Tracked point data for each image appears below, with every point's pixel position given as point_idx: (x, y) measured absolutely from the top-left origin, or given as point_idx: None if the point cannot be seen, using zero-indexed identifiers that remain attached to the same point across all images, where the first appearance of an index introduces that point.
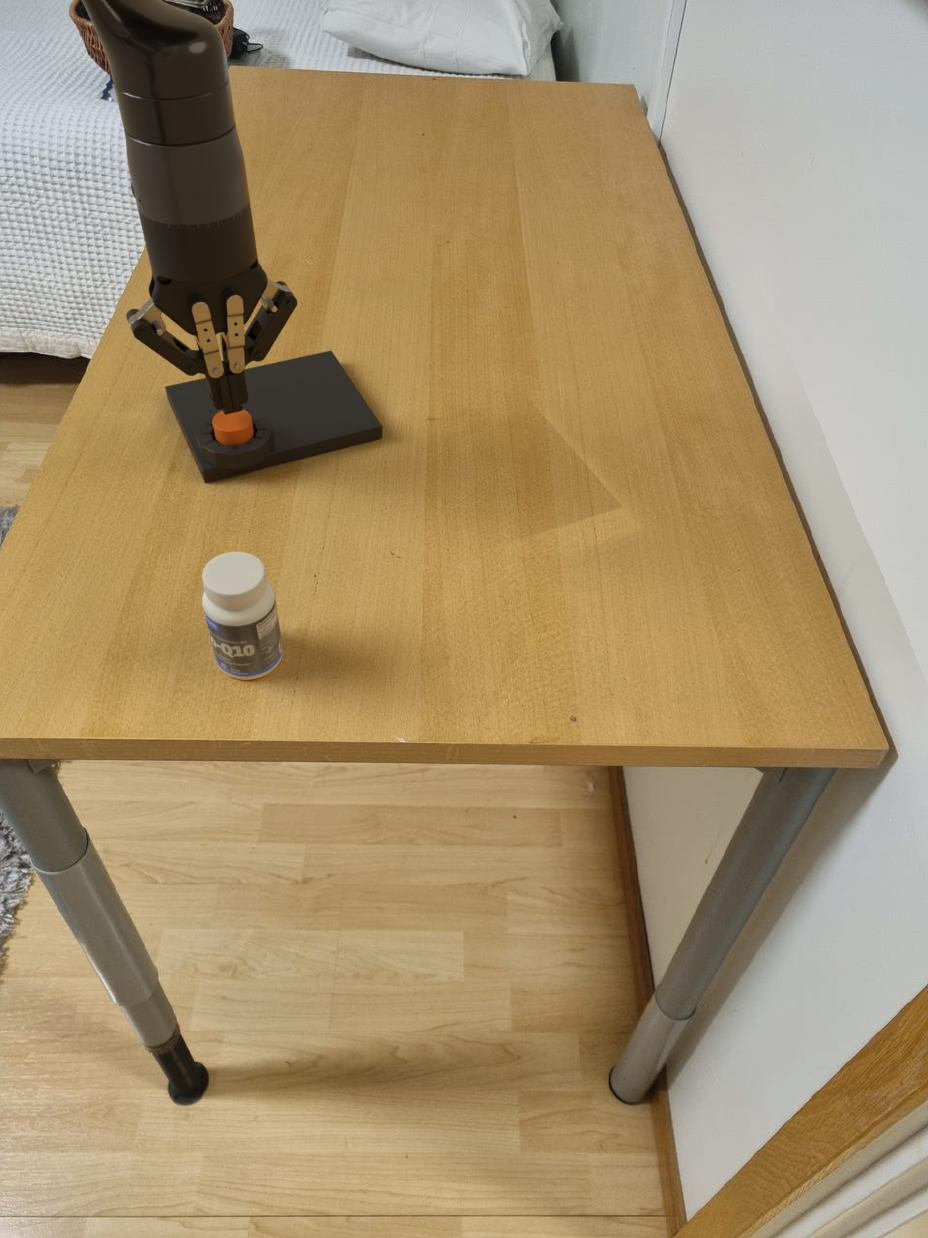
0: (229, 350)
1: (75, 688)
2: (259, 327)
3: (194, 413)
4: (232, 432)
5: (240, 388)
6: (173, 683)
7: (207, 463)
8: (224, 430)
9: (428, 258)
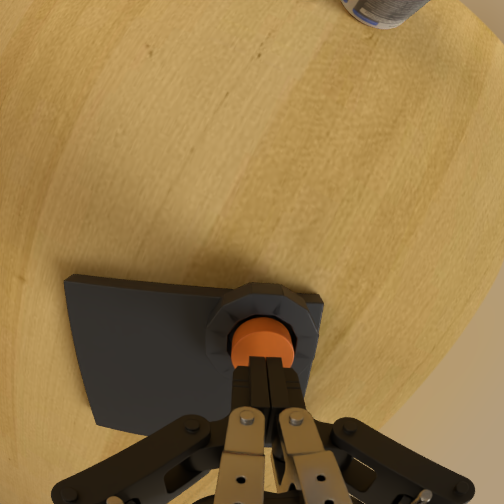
0: (260, 451)
1: (500, 78)
2: (168, 478)
3: None
4: (274, 331)
5: (244, 386)
6: (440, 24)
7: (312, 313)
8: (285, 338)
9: (20, 457)
